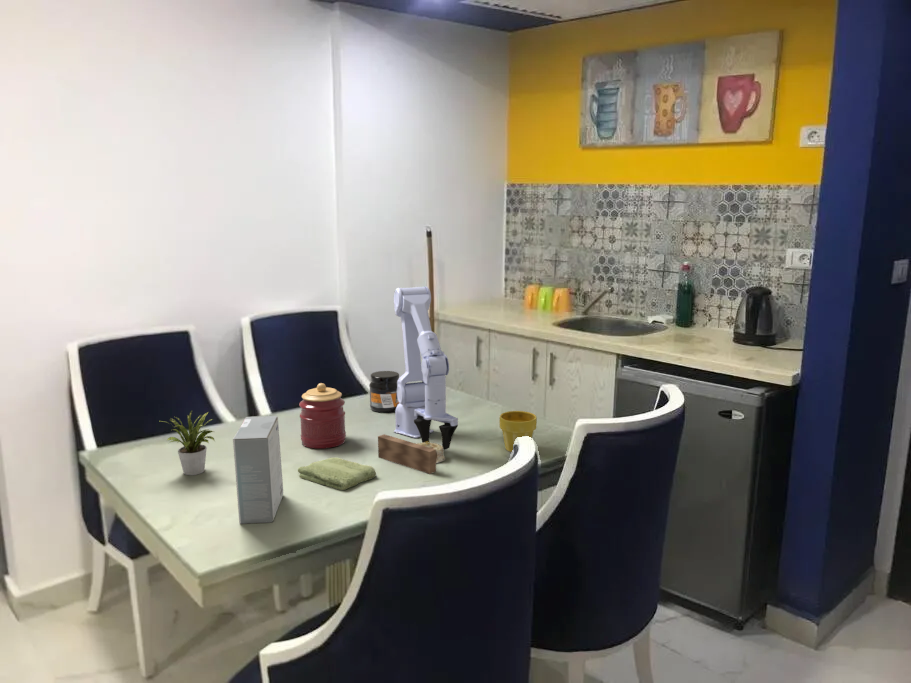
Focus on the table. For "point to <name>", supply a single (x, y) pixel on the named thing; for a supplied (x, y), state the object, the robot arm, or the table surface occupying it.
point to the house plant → (192, 446)
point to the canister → (322, 418)
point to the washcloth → (337, 473)
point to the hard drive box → (258, 469)
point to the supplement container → (384, 391)
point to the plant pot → (516, 426)
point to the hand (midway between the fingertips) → (435, 445)
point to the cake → (438, 448)
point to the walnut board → (407, 453)
